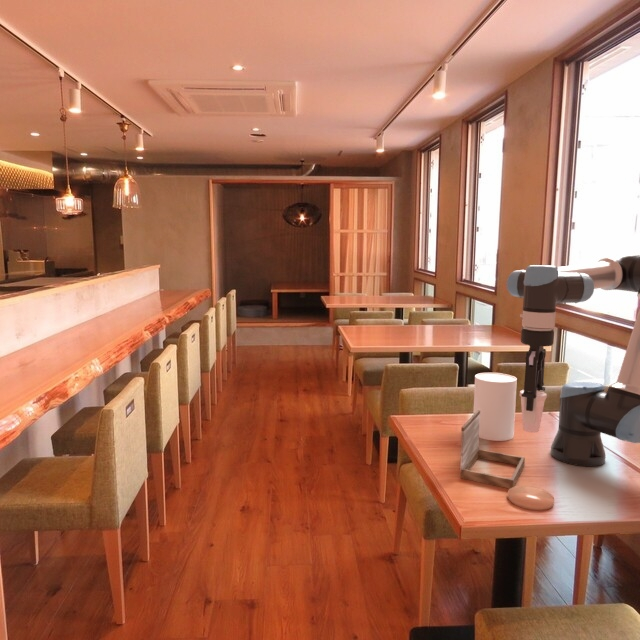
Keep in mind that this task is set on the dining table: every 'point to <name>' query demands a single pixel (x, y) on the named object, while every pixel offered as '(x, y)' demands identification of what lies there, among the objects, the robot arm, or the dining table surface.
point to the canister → (495, 405)
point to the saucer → (530, 498)
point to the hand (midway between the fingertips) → (531, 418)
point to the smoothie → (539, 409)
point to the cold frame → (484, 457)
